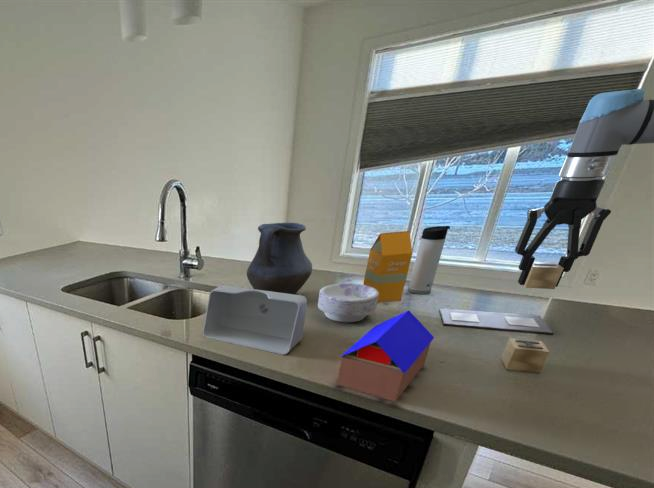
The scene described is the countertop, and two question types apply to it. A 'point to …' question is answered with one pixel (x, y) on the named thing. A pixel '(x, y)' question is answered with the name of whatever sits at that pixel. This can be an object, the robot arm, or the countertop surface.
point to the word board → (495, 321)
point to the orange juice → (389, 265)
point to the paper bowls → (347, 301)
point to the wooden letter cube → (524, 355)
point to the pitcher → (280, 259)
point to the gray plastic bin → (255, 318)
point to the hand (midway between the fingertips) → (537, 284)
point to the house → (386, 357)
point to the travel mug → (427, 259)
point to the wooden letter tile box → (543, 275)
